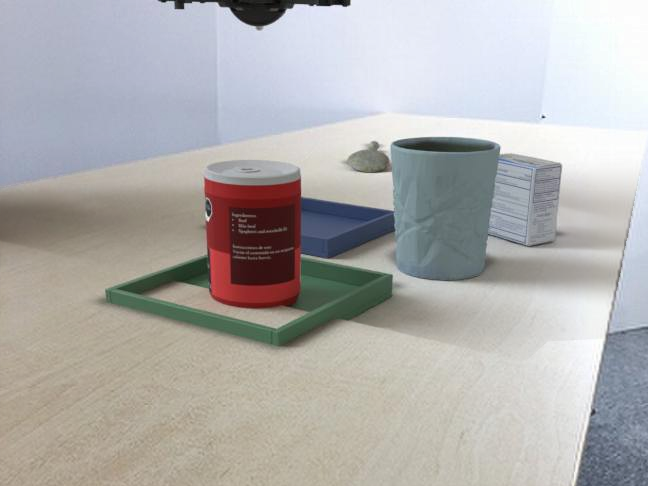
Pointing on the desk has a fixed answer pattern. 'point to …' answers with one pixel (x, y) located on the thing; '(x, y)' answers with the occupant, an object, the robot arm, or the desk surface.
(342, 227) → the blue tray
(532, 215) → the medicine box
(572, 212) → the desk surface
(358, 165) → the knobbed grey dome
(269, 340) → the green tray
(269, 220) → the canned food
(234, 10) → the robot arm
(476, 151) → the embossed blue cup
